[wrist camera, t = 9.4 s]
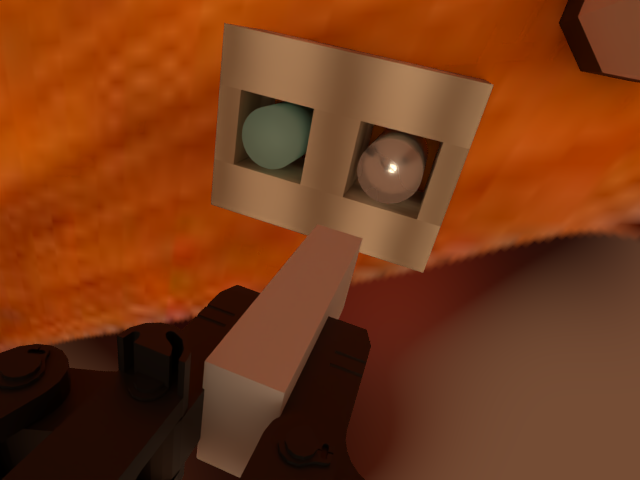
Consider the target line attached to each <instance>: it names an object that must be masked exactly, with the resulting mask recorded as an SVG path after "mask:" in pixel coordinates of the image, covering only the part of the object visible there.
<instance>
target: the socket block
mask: <svg viewBox="0 0 640 480" xmlns="http://www.w3.org/2000/svg"><path fill="white" fill-rule="evenodd" d="M492 88H493V84H491V83H489V82H488V81H486V80H482V79H478V78H473V77H469V76H465V75H460V74H456V73H452V72H447V71H443V70H438V69H434V68H430V67H425V66H421V65H416V64H412V63H408V62H403V61H399V60H395V59H390V58H386V57H381V56H377V55H373V54H368V53H364V52H359V51H355V50H351V49H346V48H342V47H338V46H333V45H329V44H324V43H320V42H316V41H311V40H307V39H302V38H298V37H294V36H289V35H285V34H281V33H276V32H272V31H267V30H262V29H256V28H250V27H244V26H238V25H232V24H226V23H224V36H223V49H222V63H221V76H220V89H219V103H218V116H217V130H216V143H215V157H214V170H213V184H212V197H211V204H212V205H215V206H218V207H221V208H224V209H227V210H230V211H233V212H236V213H240V214H243V215H246V216H249V217H252V218H255V219H258V220H261V221H264V222H267V223H271V224H274V225H277V226H280V227H283V228H286V229H289V230H292V231H295V232H298V233H302V234H305V235H309V234H310V233H311V232H312V230H313V229H314V228H315V227H316V225H317V224H318V225H322V226H325V227H328V228H331V229H334V230H337V231H341V232H344V233H347V234H350V235H353V236H356V237H360V238H363V239H362V243H361V246H360V250H359V252H360V253H363V254H367V255H370V256H373V257H376V258H379V259H382V260H385V261H388V262H391V263H394V264H397V265H401V266H404V267H407V268H410V269H413V270H416V271H419V272H423V271H424V269H425V266H426V263H427V261H428V258H429V256H430V253H431V250H432V248H433V245H434V242H435V240H436V237H437V234H438V232H439V229H440V226H441V224H442V221H443V218H444V216H445V213H446V210H447V208H448V205H449V202H450V200H451V197H452V194H453V192H454V189H455V186H456V184H457V181H458V178H459V176H460V173H461V170H462V168H463V165H464V162H465V160H466V157H467V154H468V152H469V149H470V146H471V144H472V141H473V138H474V136H475V133H476V130H477V128H478V125H479V122H480V120H481V117H482V114H483V112H484V109H485V106H486V104H487V101H488V99H489V96H490V93H491V91H492ZM275 99H279V100H283V101H287V102H290V103H294V104H298V105H302V106H306V107H310V108H313V109H314V113H313V118H312V123H311V129H310V134H309V140H308V145H307V151H306V156H305V158H302V157H300V158H298V159H296V160H295V161H293V162H292V163H290V164H288V165H287V166H285V167H283V168H280V169H267V168H264V167H261V166H259V165H258V164H256V163H255V162H254V161H253V160H252V159H251V158H250V157H249V155H248V154H247V152H246V150H245V148H244V145H243V141H242V129H243V125H244V122H245V120H246V118H247V117H248V116H249V114H250V113H252V112H253V111H254V110H256V109H258V108H261V107H265V106H269V105H273V104H275ZM374 124H375V125H379V126H382V127H386V128H390V129H394V130H398V131H402V132H405V133H409V134H413V135H417V136H421V137H425V138H428V139H432V140H436V141H440V144H439V147H438V150H437V153H436V156H435V159H434V162H433V165H432V168H431V171H430V174H429V177H428V180H427V183H426V186H425V189H424V192H420V191H416V192H415V193H414V194H413V195H412V196H411V197H409V198H408V199H406V200H404V201H402V202H399V203H394V204H386V203H381V202H378V201H376V200H374V199H372V198H371V197H369V196H368V195H367V194H366V193H365V192H364V191H363V189H362V188H361V186H360V183H359V181H358V176H357V167H358V162H359V159H360V157H361V155H362V154H363V152H364V151H365V150H366V149H367V148H368V146H369V142H370V138H371V134H372V130H373V126H374Z"/></svg>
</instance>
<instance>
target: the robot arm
mask: <svg viewBox="0 0 640 480" xmlns="http://www.w3.org/2000/svg"><path fill="white" fill-rule="evenodd" d="M362 239H363V238H360V237H356V236H353V235H350V234H347V233H344V232H341V231H337V230H334V229H331V228H328V227H325V226H322V225H318V224H317V225H316V227H315V228H314V229H313V230H312V232H311V233H310V234H309V235H308V236H307V238H306V239H305V240H304V241H303V242H302V244H301V245H300V246H299V247H298V249H297V250H296V251H295V252H294V253H293V255H292V256H291V257H290V258H289V259H288V261H287V262H286V263H285V264H284V266H283V267H282V268H281V269H280V270H279V272H278V273H277V274H276V275H275V276H274V278H273V279H272V280H271V281H270V282H269V284H268V285H267V286H266V287H265V289H264V290H263V291H262V292H261V293H258V292H256V291H253V290H250V289H247V288H245V287H242V286H239V285H236V286H233V287H231V288H229V289H227V290H224V291H222V292H220V293H219V294H218V295H217V296H216V297H215V298H214V299H213V300H212V301H211V302H210V303H209V304H208V306H207V307H205V308H204V309H203V310H202V311H201V312H200V313H199V314H198V316H197V317H195V318H194V319H193V320H192V321H191V322H190V323H189V324H188V325H187V326H186V327H185V328H184V329H183V330H181V329H179V328H177V327H176V326H173V325H169V324H164V323H144V324H141V325H137V326H134V327H130V328H128V329H127V330H125V331H123V332H122V333H120V334H118V335H117V345H118V364H119V370H118V371H117V372H112V371H111V372H109V371H108V372H107V371H106V372H105V371H95V370H85V369H75V368H69V362H68V358H67V357H66V355H65V354H64V352H63V351H62V350H60V349H58V348H56V347H54V346H51V345H41V344H33V345H26V346H19V347H16V348H13V349H10V350H8V351H5V352H2V353H0V480H181V479H182V477H183V475H184V463H185V461H186V460H187V458H188V456H189V455H190V454H191V452H192V451H193V449H194V448H195V446H196V445H197V443H198V448H197V449H198V450H197V459H200V460H202V461H204V462H206V463H208V464H211V465H213V466H215V467H217V468H220V469H222V470H224V471H226V472H228V473H231V474H233V475H235V476H237V477H239V478H240V479H239V480H365V479H364V478H363V477H362V476H361V475H360V474H359V473H358V472H357V470H356V469H355V467H354V466H353V464H352V463H351V460H350V457H349V455H348V452H347V447H346V433H347V427H348V424H349V421H350V417H351V413H352V410H353V407H354V403H355V400H356V396H357V393H358V390H359V386H360V383H361V378H362V375H363V372H364V369H365V365H366V362H367V358H368V355H369V351H370V348H371V345H370V341H369V337H368V333H367V330H366V329H363V328H360V327H357V326H355V325H352V324H349V323H346V322H343V321H341V320H338V319H339V316H340V314H341V312H342V310H343V307H344V304H345V300H346V296H347V293H348V289H349V286H350V282H351V278H352V275H353V271H354V268H355V264H356V261H357V257H358V253H359V250H360V246H361V243H362Z"/></svg>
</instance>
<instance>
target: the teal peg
mask: <svg viewBox="0 0 640 480" xmlns="http://www.w3.org/2000/svg"><path fill="white" fill-rule="evenodd" d="M313 113H314V109H313V108H310V107H306V106H302V105H298V104H294V103H290V102H287V101H286V102H282V103H278V104H273V105H269V106H265V107H261V108H258V109H256V110H254V111H253V112H252V113H250V114H249V116H248V117H247V118H246V120H245V122H244V125H243V129H242V141H243V145H244V148H245V150H246V152H247V154H248V155H249V157H250V158H251V159H252V160H253V161H254V162H255V163H256V164H258V165H259V166H261V167H264V168H267V169H280V168H283V167H285V166H287V165H288V164H290V163H292V162H293V161H295V160H296V159H298V158H300V157H301V156H303V155H304V154H306V151H307V145H308V140H309V134H310V129H311V123H312V118H313Z"/></svg>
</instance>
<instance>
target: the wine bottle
mask: <svg viewBox="0 0 640 480" xmlns="http://www.w3.org/2000/svg"><path fill="white" fill-rule="evenodd" d="M559 24H560V27H561V29H562V31H563V33H564V35H565V38H566V40H567V42H568V44H569V46H570V49H571V51H572V53H573V55H574V57H575V60H576V62H577V64H578V66H579V69H580V71H583V72H588V73H593V74H598V75H603V76H608V77H613V78H618V79H623V80H628V81H633V82H639V83H640V0H568V2H567V5H566V7H565V10H564V12H563V15H562V17H561V20H560V22H559Z"/></svg>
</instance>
